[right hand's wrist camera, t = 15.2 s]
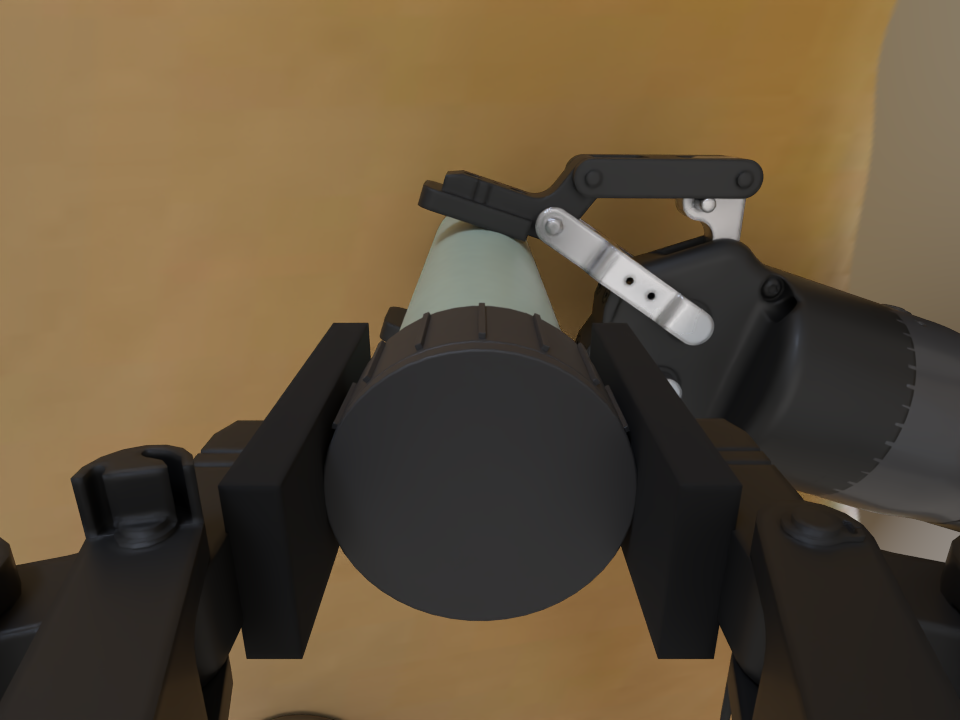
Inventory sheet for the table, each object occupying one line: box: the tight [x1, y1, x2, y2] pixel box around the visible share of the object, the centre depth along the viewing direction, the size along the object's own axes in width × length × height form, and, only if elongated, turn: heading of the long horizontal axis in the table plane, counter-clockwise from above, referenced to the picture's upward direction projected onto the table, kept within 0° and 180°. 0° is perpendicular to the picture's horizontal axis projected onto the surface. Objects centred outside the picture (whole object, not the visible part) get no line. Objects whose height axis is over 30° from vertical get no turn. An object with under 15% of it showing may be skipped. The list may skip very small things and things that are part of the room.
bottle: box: [400, 216, 561, 330], centre depth 20 cm, size 4×4×19 cm
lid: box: [323, 303, 637, 621], centre depth 11 cm, size 5×5×2 cm
